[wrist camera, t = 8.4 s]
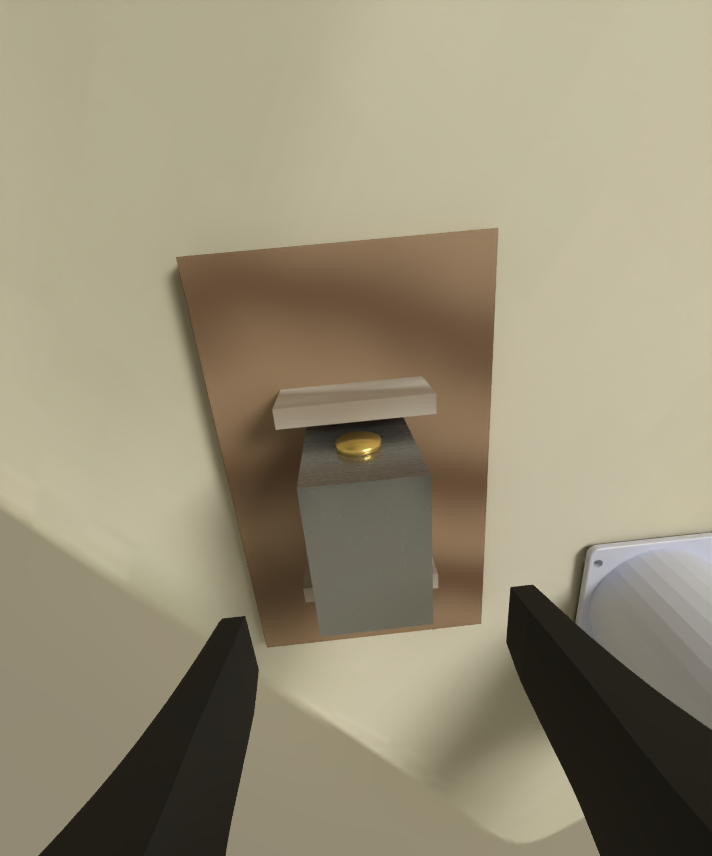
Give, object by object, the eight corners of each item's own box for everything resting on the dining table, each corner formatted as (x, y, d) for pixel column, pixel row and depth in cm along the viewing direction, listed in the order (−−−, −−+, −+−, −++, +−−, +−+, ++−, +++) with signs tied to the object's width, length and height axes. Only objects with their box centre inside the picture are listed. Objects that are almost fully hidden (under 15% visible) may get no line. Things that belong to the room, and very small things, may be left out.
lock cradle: (475, 609, 24) (498, 664, 20) (269, 632, 23) (259, 691, 20) (488, 230, 16) (528, 221, 13) (185, 257, 16) (147, 255, 12)
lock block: (404, 523, 20) (433, 624, 14) (323, 532, 20) (320, 636, 14) (399, 403, 17) (430, 467, 12) (307, 412, 17) (295, 481, 12)
